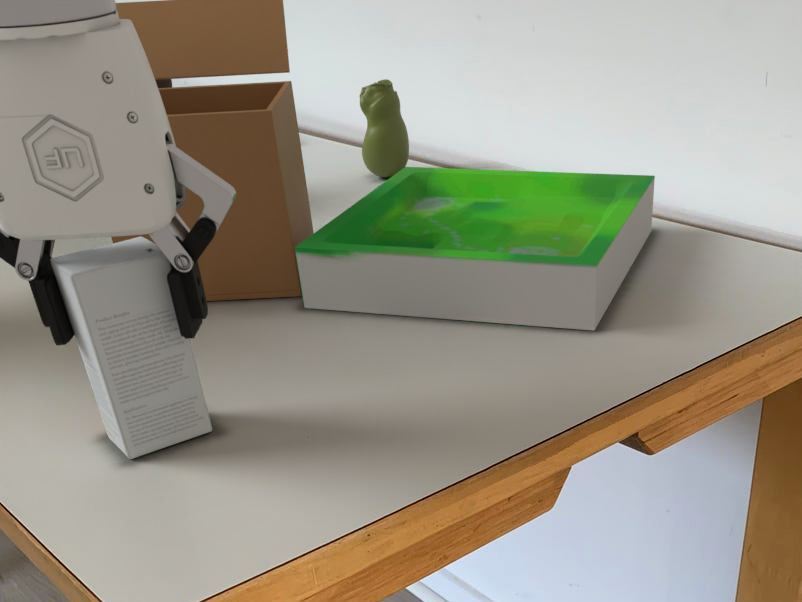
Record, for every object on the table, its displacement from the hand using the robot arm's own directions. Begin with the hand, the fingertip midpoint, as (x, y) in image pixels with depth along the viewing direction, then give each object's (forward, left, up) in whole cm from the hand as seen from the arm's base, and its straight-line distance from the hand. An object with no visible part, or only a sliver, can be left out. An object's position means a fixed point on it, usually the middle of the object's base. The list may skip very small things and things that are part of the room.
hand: (130, 331), depth 61 cm
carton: (-1, +31, -7) cm, 32 cm away
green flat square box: (+23, +30, -7) cm, 39 cm away
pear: (+12, +63, -7) cm, 65 cm away
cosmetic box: (0, 0, -7) cm, 7 cm away
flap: (-1, +38, +11) cm, 39 cm away
